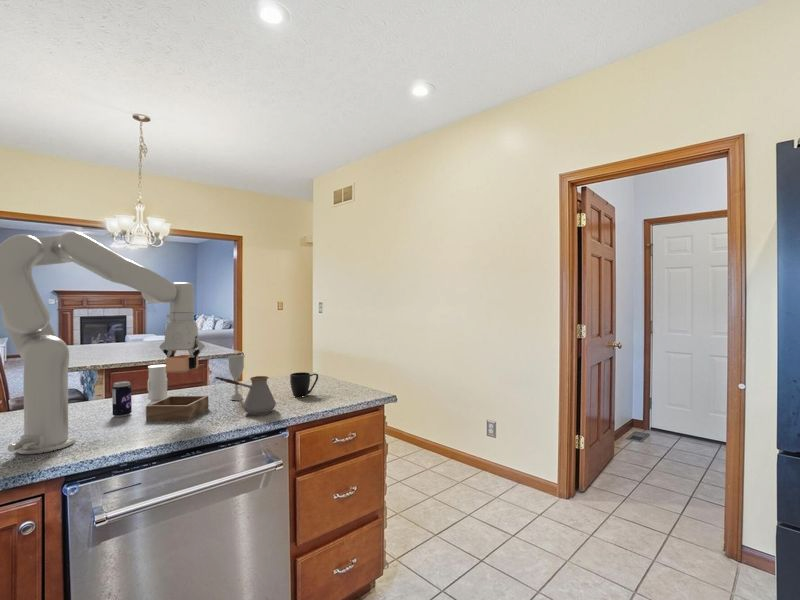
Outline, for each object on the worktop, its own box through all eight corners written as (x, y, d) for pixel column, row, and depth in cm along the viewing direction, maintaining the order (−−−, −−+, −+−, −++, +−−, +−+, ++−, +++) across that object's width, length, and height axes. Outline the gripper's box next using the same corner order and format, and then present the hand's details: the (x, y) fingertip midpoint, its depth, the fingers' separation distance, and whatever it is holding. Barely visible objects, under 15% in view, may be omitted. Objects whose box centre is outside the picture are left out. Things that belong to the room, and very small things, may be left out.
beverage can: (121, 418, 143) (121, 384, 143) (108, 417, 145) (108, 383, 145) (135, 413, 149) (135, 381, 149) (122, 413, 150) (122, 380, 150)
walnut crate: (188, 420, 140) (188, 405, 140) (146, 420, 140) (146, 406, 140) (208, 408, 155) (208, 395, 155) (170, 409, 155) (170, 396, 155)
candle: (145, 403, 164) (145, 366, 164) (164, 399, 170) (163, 364, 170) (150, 406, 160) (150, 367, 160) (170, 402, 165) (169, 365, 165)
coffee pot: (269, 406, 157) (269, 368, 157) (280, 413, 148) (280, 372, 148) (210, 416, 145) (209, 374, 145) (217, 424, 135) (217, 379, 135)
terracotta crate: (184, 372, 138) (184, 358, 138) (165, 372, 139) (165, 358, 139) (198, 368, 147) (198, 354, 147) (181, 368, 148) (180, 354, 148)
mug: (321, 395, 175) (320, 373, 175) (293, 399, 169) (293, 376, 169) (315, 392, 182) (315, 370, 182) (288, 395, 176) (288, 373, 176)
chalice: (245, 400, 167) (245, 356, 167) (227, 402, 165) (227, 357, 165) (245, 396, 174) (244, 354, 174) (227, 398, 172) (227, 355, 172)
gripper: (151, 318, 140) (151, 370, 140) (200, 317, 139) (200, 370, 139) (164, 317, 147) (165, 366, 147) (211, 316, 146) (211, 366, 146)
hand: (182, 367), depth 143 cm, fingers closed on terracotta crate, 6 cm apart
